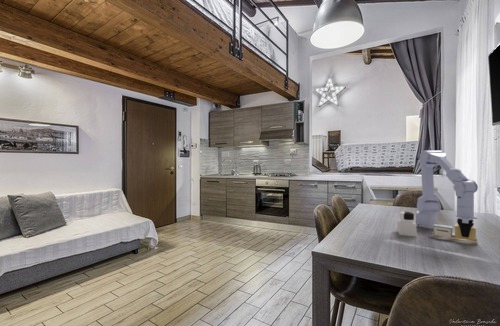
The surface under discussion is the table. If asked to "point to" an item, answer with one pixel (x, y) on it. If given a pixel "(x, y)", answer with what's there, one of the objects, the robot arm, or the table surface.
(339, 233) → the table surface
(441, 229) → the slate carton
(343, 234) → the table surface
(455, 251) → the table surface
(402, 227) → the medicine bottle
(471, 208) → the robot arm
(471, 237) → the ochre carton
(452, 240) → the beige divided tray
